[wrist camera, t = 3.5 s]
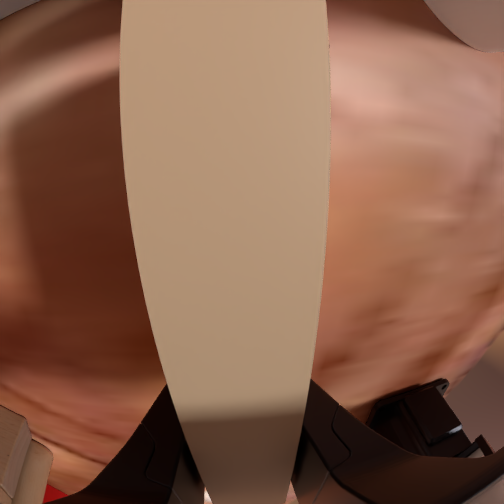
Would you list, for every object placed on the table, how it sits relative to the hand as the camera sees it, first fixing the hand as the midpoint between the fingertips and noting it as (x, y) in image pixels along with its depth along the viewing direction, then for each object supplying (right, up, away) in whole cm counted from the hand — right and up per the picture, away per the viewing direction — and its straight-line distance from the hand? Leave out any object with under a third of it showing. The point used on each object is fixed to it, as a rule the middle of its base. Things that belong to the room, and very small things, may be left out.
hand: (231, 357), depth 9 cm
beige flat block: (0, +4, +1) cm, 4 cm away
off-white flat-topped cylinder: (+11, +17, -2) cm, 20 cm away
